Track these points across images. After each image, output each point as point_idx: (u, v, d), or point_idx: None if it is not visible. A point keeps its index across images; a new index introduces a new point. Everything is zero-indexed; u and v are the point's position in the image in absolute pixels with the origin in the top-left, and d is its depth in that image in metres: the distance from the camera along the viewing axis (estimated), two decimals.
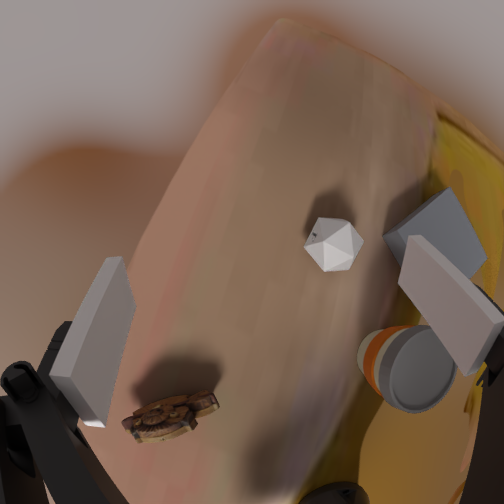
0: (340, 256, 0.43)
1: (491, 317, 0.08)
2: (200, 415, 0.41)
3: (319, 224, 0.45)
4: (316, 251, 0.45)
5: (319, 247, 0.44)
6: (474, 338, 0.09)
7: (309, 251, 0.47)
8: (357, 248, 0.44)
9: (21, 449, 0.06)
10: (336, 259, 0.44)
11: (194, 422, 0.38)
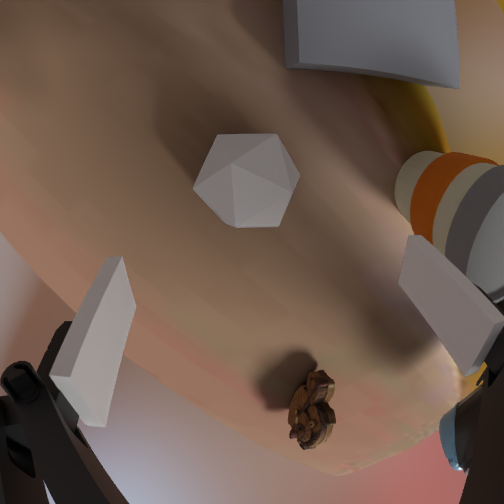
0: (275, 208, 0.24)
1: (491, 317, 0.08)
2: (328, 399, 0.40)
3: (204, 199, 0.25)
4: None
5: None
6: (474, 338, 0.09)
7: None
8: (282, 167, 0.23)
9: (21, 449, 0.06)
10: (275, 213, 0.25)
11: (330, 415, 0.38)
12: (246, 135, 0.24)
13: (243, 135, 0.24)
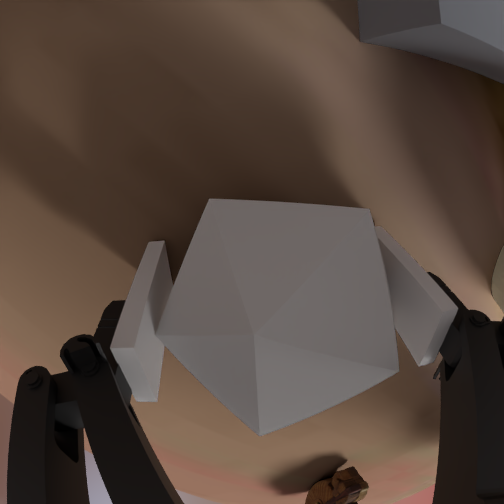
0: None
1: (440, 305, 0.09)
2: (358, 500, 0.26)
3: (183, 363, 0.10)
4: None
5: None
6: (425, 327, 0.09)
7: None
8: (383, 311, 0.08)
9: (70, 429, 0.07)
10: None
11: None
12: (288, 208, 0.09)
13: (279, 208, 0.09)
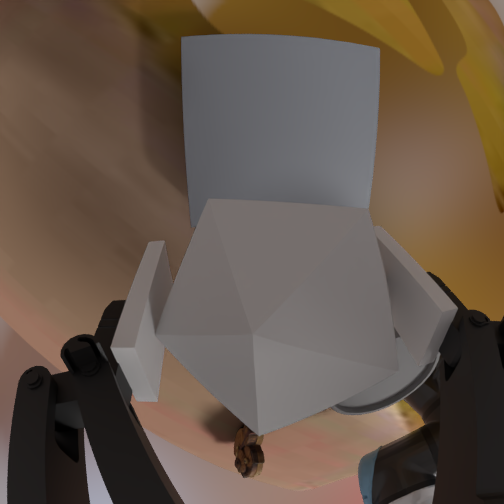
0: None
1: (440, 305, 0.09)
2: (260, 443, 0.47)
3: (183, 363, 0.10)
4: None
5: None
6: (425, 327, 0.09)
7: None
8: (382, 311, 0.08)
9: (70, 429, 0.07)
10: None
11: (259, 456, 0.45)
12: (287, 208, 0.09)
13: (278, 208, 0.09)
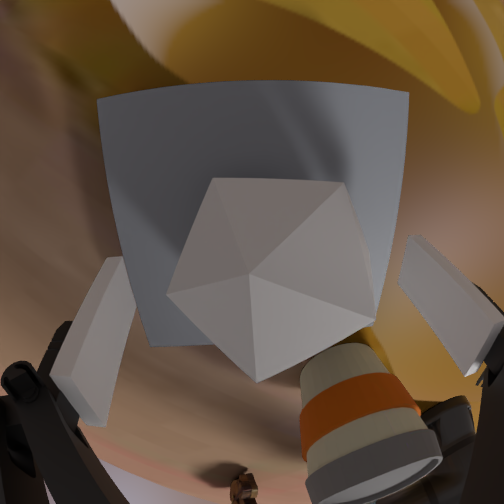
0: None
1: (491, 317, 0.08)
2: (254, 497, 0.41)
3: (190, 319, 0.12)
4: None
5: None
6: (474, 338, 0.09)
7: None
8: (358, 265, 0.10)
9: (21, 449, 0.06)
10: None
11: None
12: (277, 183, 0.11)
13: (270, 183, 0.11)
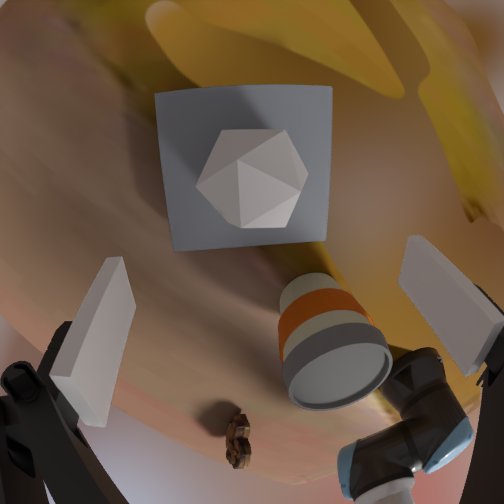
0: (283, 208, 0.23)
1: (491, 317, 0.08)
2: (247, 436, 0.52)
3: (207, 198, 0.23)
4: None
5: None
6: (474, 338, 0.09)
7: None
8: (290, 165, 0.22)
9: (21, 449, 0.06)
10: (283, 213, 0.23)
11: (247, 448, 0.50)
12: (253, 131, 0.23)
13: (249, 130, 0.23)
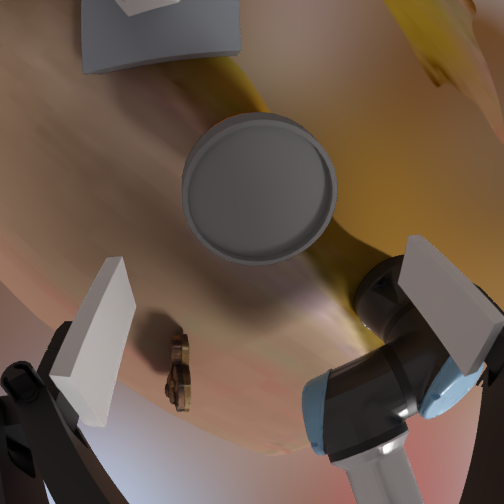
0: None
1: (491, 317, 0.08)
2: (187, 362, 0.45)
3: None
4: (139, 1, 0.17)
5: None
6: (474, 338, 0.09)
7: (138, 10, 0.19)
8: None
9: (21, 449, 0.06)
10: None
11: (185, 377, 0.44)
12: None
13: None
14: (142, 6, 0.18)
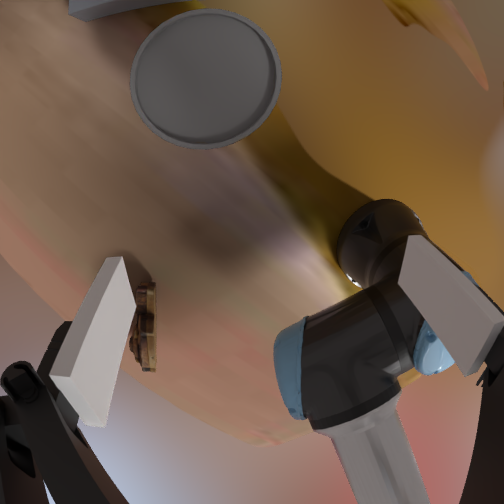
0: None
1: (491, 317, 0.08)
2: (152, 310, 0.43)
3: None
4: None
5: None
6: (474, 338, 0.09)
7: None
8: None
9: (21, 449, 0.06)
10: None
11: (148, 325, 0.41)
12: None
13: None
14: None
